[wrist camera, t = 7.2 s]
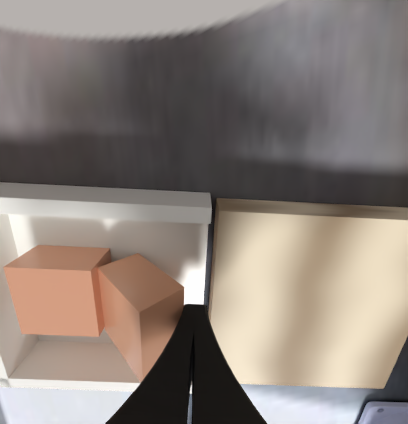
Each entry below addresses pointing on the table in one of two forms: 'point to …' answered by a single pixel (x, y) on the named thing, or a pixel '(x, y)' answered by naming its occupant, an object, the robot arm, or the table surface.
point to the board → (309, 291)
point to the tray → (120, 248)
